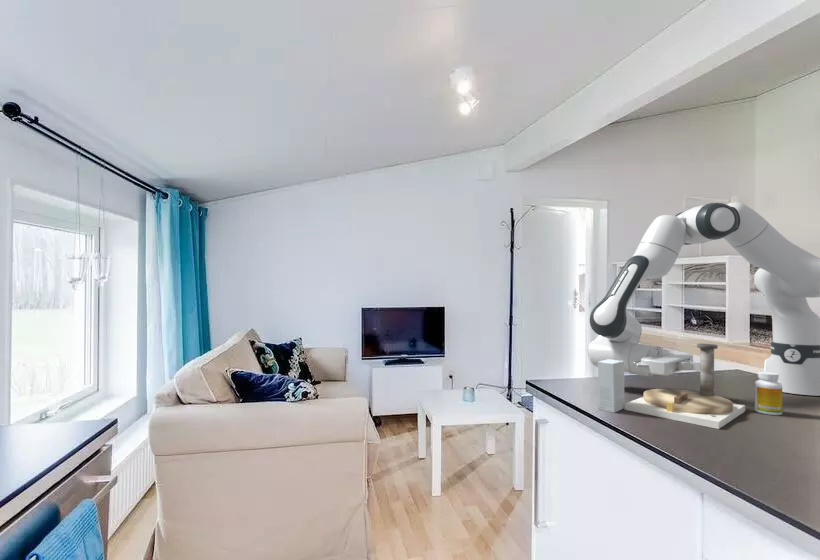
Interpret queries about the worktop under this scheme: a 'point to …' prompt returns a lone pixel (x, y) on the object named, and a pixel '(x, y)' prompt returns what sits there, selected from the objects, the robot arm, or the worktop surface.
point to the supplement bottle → (768, 394)
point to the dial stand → (685, 413)
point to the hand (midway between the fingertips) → (701, 367)
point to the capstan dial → (692, 399)
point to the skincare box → (611, 385)
